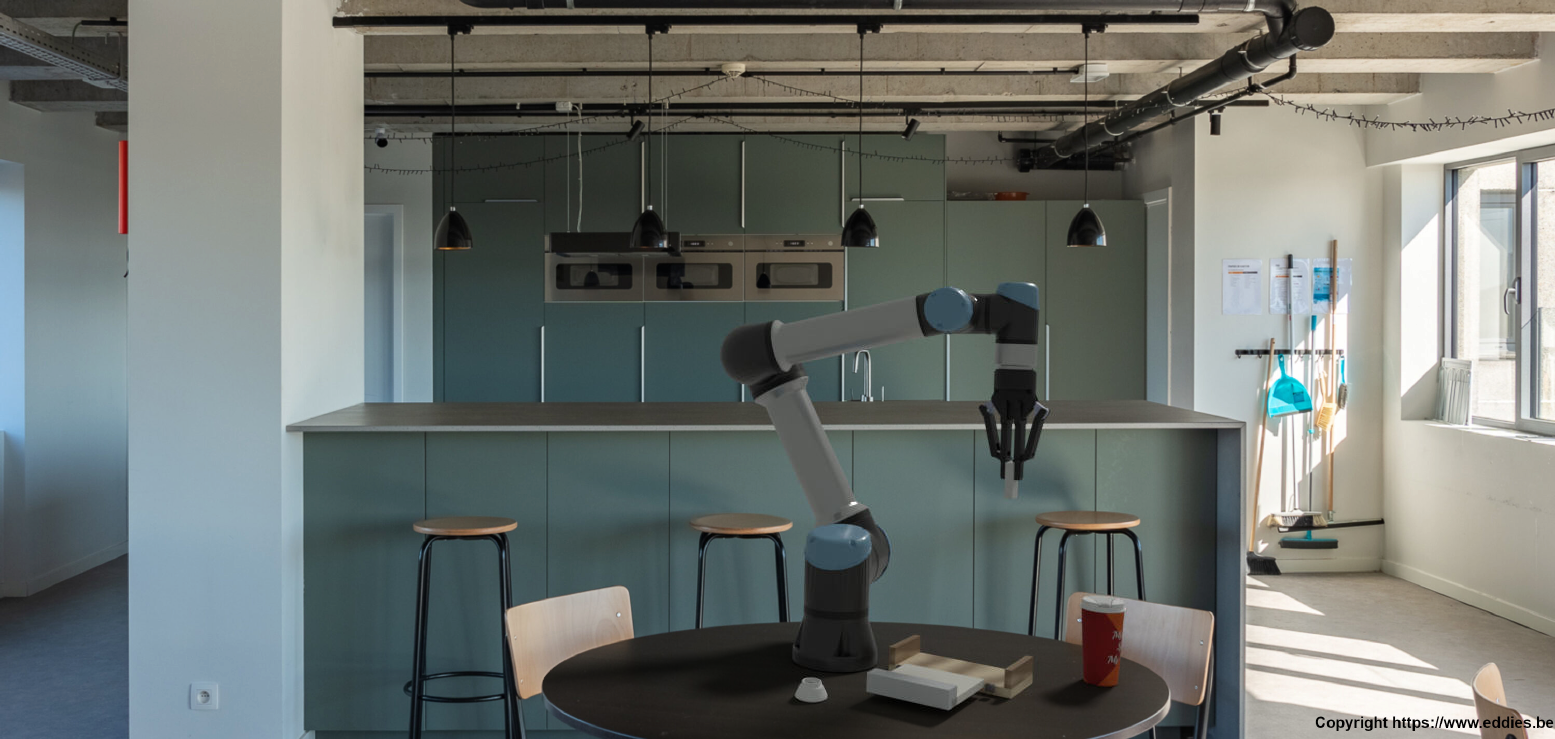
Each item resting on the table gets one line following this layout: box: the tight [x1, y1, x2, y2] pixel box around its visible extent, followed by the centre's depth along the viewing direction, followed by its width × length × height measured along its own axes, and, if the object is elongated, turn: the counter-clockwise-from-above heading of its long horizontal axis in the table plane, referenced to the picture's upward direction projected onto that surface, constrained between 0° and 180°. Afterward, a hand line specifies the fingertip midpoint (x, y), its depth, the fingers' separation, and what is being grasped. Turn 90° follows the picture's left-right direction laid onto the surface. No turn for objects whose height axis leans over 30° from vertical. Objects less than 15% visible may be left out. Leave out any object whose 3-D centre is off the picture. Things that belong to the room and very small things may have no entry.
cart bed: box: [888, 634, 1034, 700], centre depth 176 cm, size 22×12×4 cm, turn 57°
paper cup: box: [1079, 595, 1128, 688], centre depth 177 cm, size 8×8×14 cm
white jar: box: [794, 677, 828, 703], centre depth 164 cm, size 5×3×5 cm
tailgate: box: [866, 663, 984, 711], centre depth 165 cm, size 14×3×14 cm
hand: (1010, 497), depth 188 cm, fingers closed
